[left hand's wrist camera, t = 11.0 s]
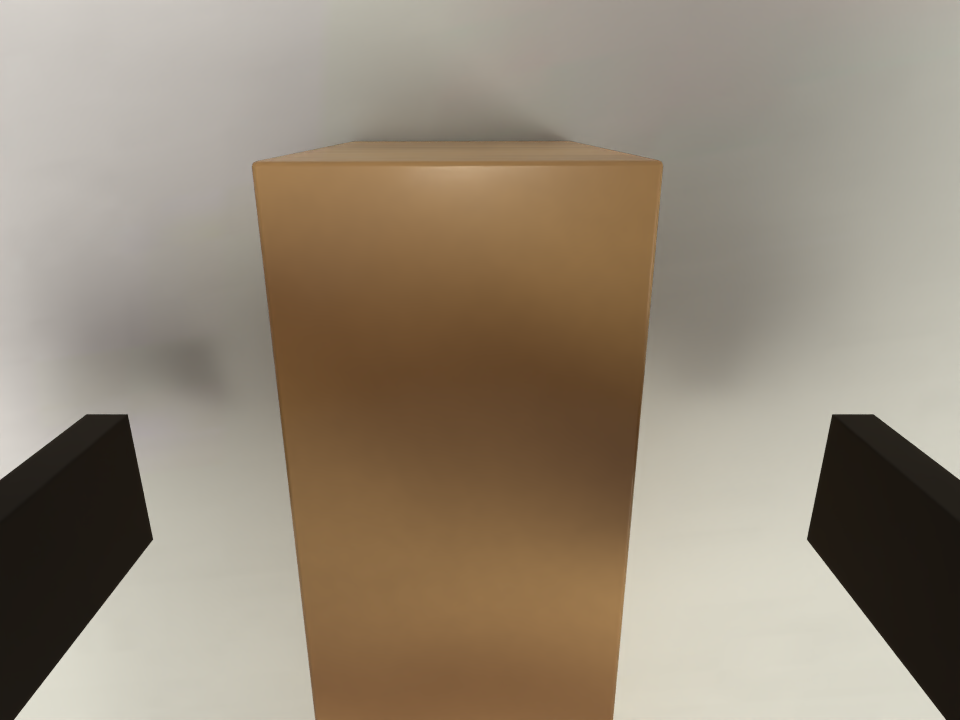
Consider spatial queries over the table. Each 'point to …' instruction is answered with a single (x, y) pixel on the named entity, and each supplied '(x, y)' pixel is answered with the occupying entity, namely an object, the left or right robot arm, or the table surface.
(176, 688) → the table surface
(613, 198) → the post
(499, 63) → the table surface
